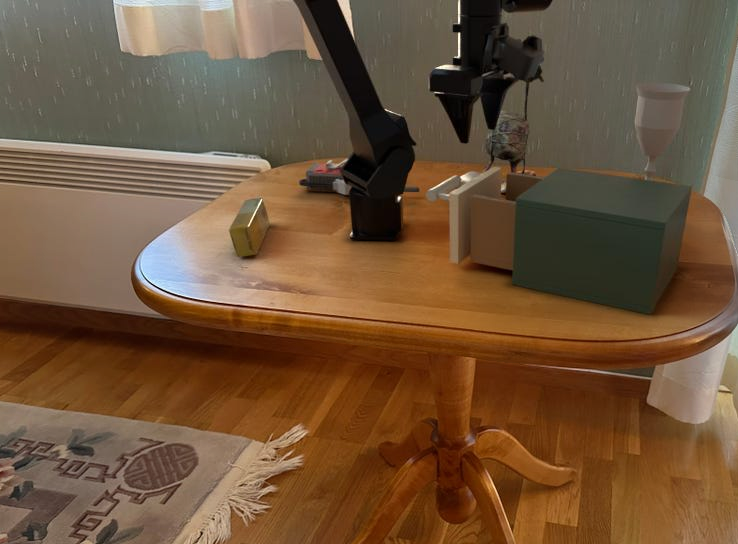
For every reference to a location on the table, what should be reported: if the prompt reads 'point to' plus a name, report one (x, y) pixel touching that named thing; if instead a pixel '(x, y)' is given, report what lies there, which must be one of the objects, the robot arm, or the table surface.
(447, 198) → the drawer
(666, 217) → the cabinet
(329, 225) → the table surface
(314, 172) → the walkie-talkie
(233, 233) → the medication box
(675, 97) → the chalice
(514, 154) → the bird figurine
